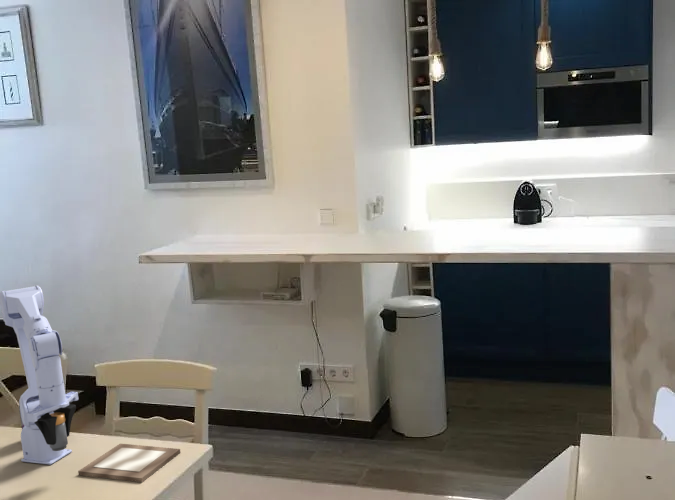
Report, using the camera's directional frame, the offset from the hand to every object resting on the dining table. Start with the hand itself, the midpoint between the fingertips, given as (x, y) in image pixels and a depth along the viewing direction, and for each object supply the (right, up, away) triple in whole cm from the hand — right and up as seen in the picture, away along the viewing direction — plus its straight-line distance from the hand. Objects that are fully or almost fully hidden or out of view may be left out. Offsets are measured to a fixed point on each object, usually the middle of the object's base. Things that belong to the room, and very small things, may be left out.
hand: (58, 440), depth 169 cm
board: (+15, -7, +6) cm, 18 cm away
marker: (0, -2, 0) cm, 2 cm away
